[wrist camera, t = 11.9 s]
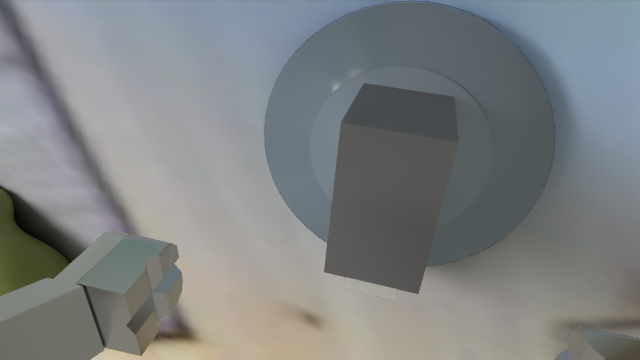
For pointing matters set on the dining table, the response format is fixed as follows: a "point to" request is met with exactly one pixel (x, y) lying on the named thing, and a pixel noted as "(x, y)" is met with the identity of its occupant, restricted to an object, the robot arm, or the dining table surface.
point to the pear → (23, 253)
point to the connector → (389, 187)
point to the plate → (425, 76)
